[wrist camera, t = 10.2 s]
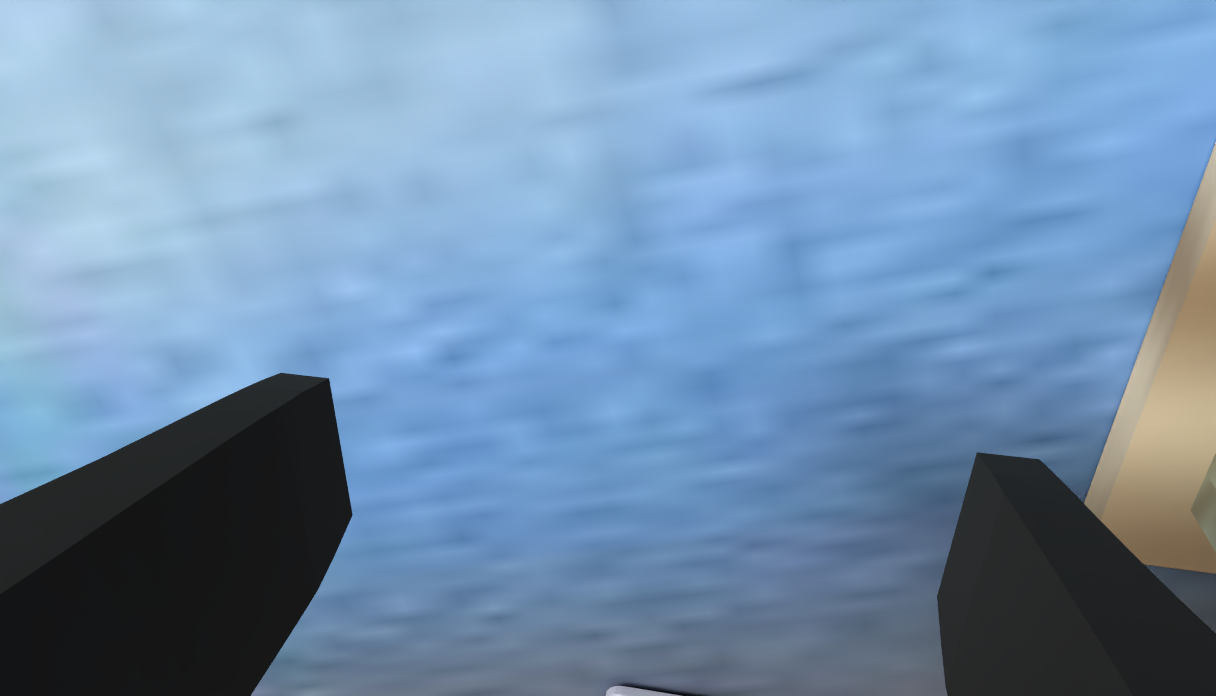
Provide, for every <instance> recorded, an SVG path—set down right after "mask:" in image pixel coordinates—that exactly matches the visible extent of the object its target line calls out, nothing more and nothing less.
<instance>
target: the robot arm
mask: <svg viewBox="0 0 1216 696" xmlns="http://www.w3.org/2000/svg"><path fill="white" fill-rule="evenodd" d="M351 517H352V510H351V504H350V498H349V492H348V486H347V481H346V475H345V469H344V463H343V457H342V451H341V446H340V440H339V434H338V428H337V422H336V416H335V411H334V405H333V399H332V393H331V387H330V381H329V378H321V377H312V376H303V375H294V374H286V373H279V374H277V375H274V376H272V377H269V378H266V379H264V380H261V381H259V382H257V383H254V384H252V385H250V386H248V387H246V388H243V389H241V390H239V391H237V392H235V393H233V394H231V395H229V396H226V397H224V398H222V399H220V400H218V401H216V402H214V403H212V404H210V405H208V406H206V407H204V408H202V409H200V410H198V411H196V412H194V413H192V414H190V415H188V416H186V417H184V418H182V419H180V420H178V421H176V422H174V423H172V424H170V425H168V426H166V427H163V428H161V429H159V430H157V431H155V432H153V433H151V434H149V435H147V436H145V437H143V438H141V439H139V440H137V441H135V442H133V443H131V444H129V445H127V446H125V447H123V448H121V449H119V450H117V451H115V452H113V453H111V454H109V455H107V456H105V457H103V458H100V459H98V460H96V461H94V462H92V463H90V464H87V465H85V466H83V467H81V468H79V469H76V470H74V471H72V472H70V473H68V474H66V475H63V476H61V477H59V478H57V479H55V480H52V481H50V482H48V483H46V484H44V485H41V486H39V487H37V488H35V489H33V490H30V491H28V492H26V493H24V494H22V495H20V496H17V497H15V498H13V499H11V500H9V501H6V502H4V503H2V504H0V696H251V694H252V693H253V691H254V689H255V688H256V686H257V685H258V683H259V682H260V680H261V679H262V677H263V676H264V674H265V672H266V671H267V669H268V668H269V666H270V665H271V663H272V662H273V660H274V659H275V657H276V655H277V654H278V652H279V651H280V649H281V648H282V646H283V645H284V643H285V641H286V640H287V638H288V637H289V635H290V633H291V632H292V630H293V629H294V627H295V626H296V624H297V622H298V621H299V619H300V618H301V616H302V615H303V613H304V611H305V610H306V608H307V607H308V605H309V603H310V602H311V600H312V598H313V597H314V595H315V594H316V592H317V590H318V589H319V586H320V584H321V582H322V580H323V578H324V576H325V574H326V572H327V570H328V568H329V566H330V564H331V562H332V560H333V558H334V556H335V553H336V551H337V549H338V547H339V544H340V542H341V540H342V537H343V535H344V533H345V531H346V528H347V526H348V524H349V522H350V519H351ZM937 599H938V611H939V623H940V635H941V647H942V656H943V665H944V675H945V684H946V690H947V694H948V696H1216V634H1215V633H1214V632H1213V631H1212V630H1211V629H1210V628H1209V627H1208V626H1207V625H1206V624H1205V623H1204V622H1203V621H1202V620H1200V619H1199V618H1198V617H1197V616H1196V615H1195V614H1194V613H1193V612H1192V611H1191V610H1190V609H1189V608H1188V607H1187V606H1186V605H1185V604H1184V603H1183V602H1182V601H1181V600H1179V599H1178V598H1177V597H1176V596H1175V595H1174V594H1173V593H1172V592H1171V591H1170V590H1169V589H1168V588H1167V587H1166V586H1165V585H1164V584H1163V583H1162V582H1161V581H1160V580H1159V579H1158V578H1157V577H1156V576H1155V575H1154V574H1153V573H1152V572H1151V571H1150V570H1149V569H1148V568H1147V567H1146V566H1145V565H1144V564H1143V563H1142V562H1141V561H1140V560H1139V559H1138V558H1137V557H1136V556H1135V555H1134V554H1133V553H1132V552H1131V551H1130V550H1129V549H1128V548H1127V547H1126V546H1125V545H1124V544H1123V543H1122V542H1121V541H1120V540H1119V539H1118V538H1117V537H1116V536H1115V535H1114V534H1113V533H1112V532H1111V531H1110V530H1109V529H1108V528H1107V527H1106V526H1105V525H1104V524H1103V523H1102V522H1101V521H1100V520H1099V519H1098V518H1097V517H1096V516H1095V514H1094V513H1093V512H1092V511H1091V510H1090V509H1089V508H1088V507H1087V506H1086V505H1085V504H1084V503H1083V502H1082V501H1081V500H1080V499H1079V498H1078V497H1077V496H1076V495H1075V494H1074V493H1073V492H1072V491H1071V490H1070V489H1069V488H1068V487H1067V486H1066V485H1065V484H1064V483H1063V482H1062V481H1061V480H1060V479H1059V478H1058V477H1057V476H1056V475H1055V474H1054V473H1053V472H1052V471H1051V470H1050V469H1049V468H1048V467H1047V466H1046V465H1045V464H1044V463H1043V462H1041V461H1040V460H1039V459H1030V458H1021V457H1012V456H1004V455H995V454H986V453H977V454H976V458H975V462H974V465H973V469H972V473H971V476H970V480H969V483H968V487H967V491H966V494H965V498H964V501H963V505H962V509H961V512H960V516H959V520H958V523H957V527H956V530H955V534H954V538H953V541H952V545H951V548H950V552H949V556H948V559H947V563H946V567H945V570H944V574H943V577H942V581H941V585H940V588H939V592H938V595H937ZM606 696H681V695H675V694H669V693H663V692H657V691H651V690H644V689H638V688H632V687H626V686H614V687H611V688H609V689H608V690H607V692H606Z"/></svg>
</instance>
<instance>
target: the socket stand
mask: <svg viewBox="0 0 1216 696" xmlns="http://www.w3.org/2000/svg"><path fill="white" fill-rule="evenodd" d="M1084 504H1085V505H1086V506H1087V507H1088V508H1089V509H1090V510H1091V511H1092V512H1093V513H1094V514H1095V516H1096V517H1097V518H1098V519H1099V520H1100V521H1101V522H1102V523H1103V524H1104V525H1105V526H1106V527H1107V528H1108V529H1109V530H1110V531H1111V532H1112V533H1113V534H1114V535H1115V536H1116V537H1117V538H1118V539H1119V540H1120V541H1121V542H1122V543H1123V544H1124V545H1125V546H1126V547H1127V548H1128V549H1129V550H1130V551H1131V552H1132V553H1133V554H1134V555H1135V556H1136V557H1137V558H1138V559H1139V560H1140V561H1141V562H1142V563H1143V564H1145V565H1153V566H1160V567H1168V568H1176V569H1184V570H1191V571H1199V572H1207V573H1215V574H1216V143H1215V146H1214V148H1213V151H1212V154H1211V157H1210V159H1209V162H1208V165H1207V168H1206V170H1205V173H1204V176H1203V179H1202V181H1201V184H1200V187H1199V190H1198V192H1197V195H1196V198H1195V201H1194V203H1193V206H1192V209H1191V212H1190V214H1189V217H1188V220H1187V223H1186V225H1185V228H1184V231H1183V233H1182V236H1181V239H1180V242H1179V244H1178V247H1177V250H1176V253H1175V255H1174V258H1173V261H1172V264H1171V266H1170V269H1169V272H1168V275H1167V277H1166V280H1165V283H1164V286H1163V288H1162V291H1161V294H1160V297H1159V299H1158V302H1157V305H1156V307H1155V310H1154V313H1153V316H1152V318H1151V321H1150V324H1149V327H1148V329H1147V332H1146V335H1145V338H1144V340H1143V343H1142V346H1141V349H1140V351H1139V354H1138V357H1137V360H1136V362H1135V365H1134V368H1133V371H1132V373H1131V376H1130V379H1129V381H1128V384H1127V387H1126V390H1125V392H1124V395H1123V398H1122V401H1121V403H1120V406H1119V409H1118V412H1117V414H1116V417H1115V420H1114V423H1113V425H1112V428H1111V431H1110V434H1109V436H1108V439H1107V442H1106V445H1105V447H1104V450H1103V453H1102V456H1101V458H1100V461H1099V464H1098V466H1097V469H1096V472H1095V475H1094V477H1093V480H1092V483H1091V486H1090V488H1089V491H1088V494H1087V497H1086V499H1085V502H1084Z"/></svg>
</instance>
